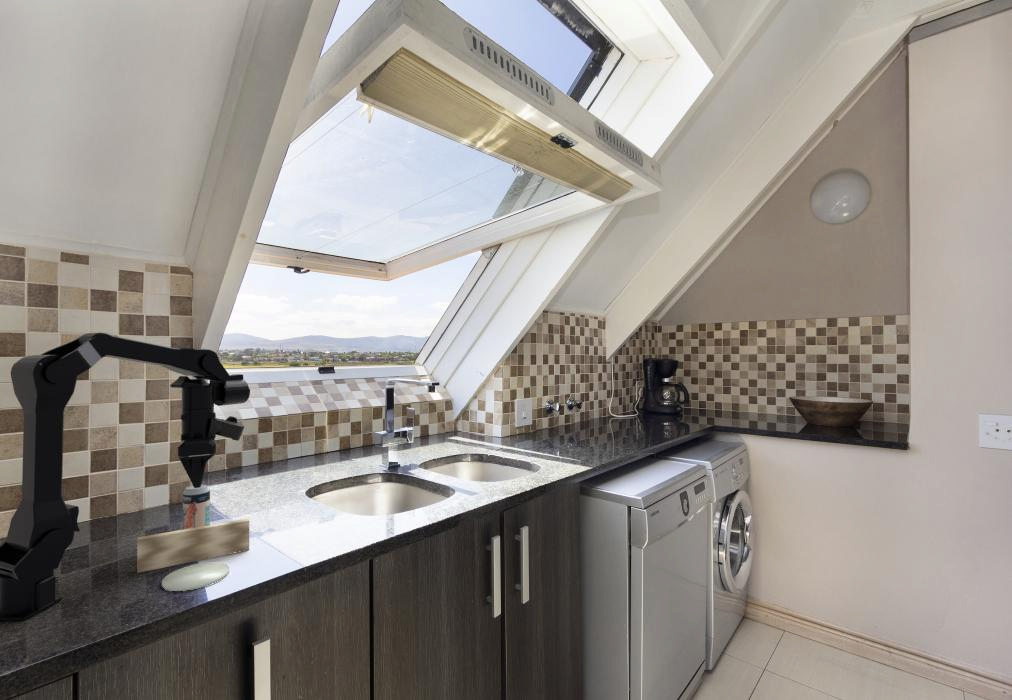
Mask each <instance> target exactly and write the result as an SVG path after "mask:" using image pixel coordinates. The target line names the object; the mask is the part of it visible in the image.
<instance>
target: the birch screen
mask: <svg viewBox="0 0 1012 700" xmlns="http://www.w3.org/2000/svg"><path fill="white" fill-rule="evenodd" d="M136 542H137V546H136V547H137V548H136V550H137V551H136V557H137V558H136V560H137V562H136V563H137V564H136V567H137V568H136V569H137V570H136V571H137V574H139V573H144V572H148V571H153V570H159V569H164V568H168V567H172V566H178V565H182V564H188V563H192V562H198V561H201V560H202V559H203V560H207V559H206V558H208V559H212V558H211V557H213V558H216V557H217V556H218V557H222V556H221V555H223V556H227V555H226V554H228V555H231V554H230V553H233V554H235V553H234V552H238V553H240V552H239V551H243V552H245V551H244V550H248V551H250V518H244V519H238V520H237V519H236V520H233V521H226V522H221V523H214V524H210V525H207V526H201V527H196V528H190V529H184V530H183V529H179V530H178V529H177V530H173V531H169V532H161V533H156V534H151V535H150V534H148V535H144V536H139V537H137V541H136ZM218 557H217V558H218ZM203 560H202V561H203Z"/></svg>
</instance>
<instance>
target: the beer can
mask: <svg viewBox="0 0 1012 700" xmlns="http://www.w3.org/2000/svg"><path fill="white" fill-rule="evenodd" d="M207 525H211V488H209V486H208V485H207V483H206V484H204V483H203V484H202V483H201V487H199V488H194V486H193V484H191V485H189V486H186V487H185V489H184V490H183V493H182V530H184V529H190V528H196V527H201V526H207Z"/></svg>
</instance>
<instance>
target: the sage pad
mask: <svg viewBox="0 0 1012 700" xmlns="http://www.w3.org/2000/svg"><path fill="white" fill-rule="evenodd" d="M229 573H230V566H229V565H228V564H227V563H224V562H221V561H207V562H200V563H195V564H191V565H187V566H185V567H181V568H179V569H176V570H174V571H172V572H170V573H169V574H167V575H166V576H165V577H163V578H162V581H161V588H162V587H163V588H164V589H165V591H167V590H168V591H167V592H172V591H183V592H188V591H187V590H191V591H195V590H194V589H196V590H199V589H198V588H200V589H202V588H201V587H203V588H205V587H204V586H206V587H208V586H207V585H209V586H211V585H210V584H212V583H214V584H216V583H218V582H220V581H222V580H223V579H225V578H226V577H227V576H228V575H229ZM227 574H228V575H227ZM226 575H227V576H226ZM225 576H226V577H225ZM224 577H225V578H224ZM222 578H223V579H222ZM221 579H222V580H221ZM219 580H220V581H219ZM217 581H218V582H217ZM215 582H216V583H215ZM212 585H213V584H212ZM163 588H162V589H163ZM164 589H163V590H164Z"/></svg>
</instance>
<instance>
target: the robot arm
mask: <svg viewBox="0 0 1012 700" xmlns="http://www.w3.org/2000/svg"><path fill="white" fill-rule="evenodd" d="M104 357H106V358H111V359H117V360H124V361H130V362H137V363H141V364H149V365H154V366H160V367H163V368H166V369H167V370H169V371H171V372H174V373H177V374H180V376H178V377H177V379H176V380H175V381H173V382H172V383H171V384H170V385H169V386H170V388H174V389H181V415H180V416H181V417H180V420H181V434H180V441H181V442H180V443H178V446H177V457H178V459H179V462H180V463H181V464H182V467H183V468H184V470H185V472H186V475H187V476H188V479H189V480H190V482H191V485H193V486H194V488H199V487H201V484H202V482H203V478H204V473H205V469H206V465H207V462H208V461H209V460H210V459H212V458H213V457H215V455H216V453H217V449H216V447H217V445H216V444H217V441H216V437H217V436H218V437H224V438H229V439H231V440H232V441H238V442H239V441H240V439H241V436H242V434H243V432H244V430H245V425H244V424H242V423H238V418H237V417H235V416H232V415H229V416H228V417H226V418H225V419H223V418H221V419H220V418H217V415H216V414H217V413H216V412H215V408H214V407H215V406H218V407H221V406H229V405H230V406H233V405H238V404H239V405H240V404H244V403H246V402H248V400H249V399H250V396H251V388H250V386H249V384H248V383H247V381H246V380H245V379H244V374H241V373H240V374H239V373H237V374H235V373H233V374H230V373H229V372H228V371H227V369H226V368H225V367H224V365H223V364H222V362H221V361H220V358H219V356H218V353H217V352H216V351H215V350H213V349H212V348H211V349H210V348H192V347H191V348H189V347H188V348H186V347H184V348H181V347H178V348H177V347H171V346H165V345H161V344H155V343H151V342H146V341H142V340H141V341H140V340H136V339H130V338H127V337H125V338H124V337H120V336H115V335H111V334H110V333H107V332H87V333H83V334H82V335H81V336H79V337H77V338H75V339H73V340H71V341H69V342H67V343H64V344H61V345H58V346H56V347H53V348H52V349H49V350H46V351H44V352H42V353H41V354H34V355H27V356H24V357H22V358H20V359H19V360H18V361H16V362H14V364H13V365H12V366H11V368H10V378H11V382H12V388H13V392H14V395H15V397H16V399H17V401H18V403H19V404H20V406H21V408H22V411H23V431H22V432H23V433H22V434H23V435H22V437H23V438H22V475H21V476H22V478H21V480H22V481H21V501H20V503H19V505H18V507H17V508H16V510H15V512H14V514H13V515H12V517H11V518H10V519H11V520H10V522H9V527H8V530H7V531H8V532H7V534H6V535H7V536H6V539H5V540H4V541H3V542H1V544H0V621H25V620H27V619H28V618H29V619H30V618H31V617H33V616H34V615H36V614H38V613H40V612H41V611H44V610H45V609H47V608H49V607H51V606H52V605H54V604H56V603H58V602H60V601H62V600H63V599H64V595H56V580H57V579H56V577H57V576H56V575H55V573H54V572H55V571H54V570H56V569H58V568H59V567H60V564H61V562H62V559H63V557H64V554H65V551H66V550H67V549H68V548H69V547H70V546H71V545H72V544H73V542H74V540H75V532H77V533H79V532H80V530H81V528H79V526H78V517H79V513H80V509H79V506H77V505H72V504H67V503H66V502H65V500H64V497H63V466H64V465H63V464H64V463H63V461H64V424H65V423H64V421H65V420H64V418H65V416H64V415H65V409H66V407H67V406H68V403H69V402H70V400H71V399H72V396H73V395H74V392H75V389H76V385H77V381H78V376H80V375H81V374H83V373H86V372H87V371H88V370H90V369H91V368H93V367H94V366H95V365H96V364H97V363H98V362H99V361H100V360H101V359H102V358H104ZM189 377H192V378H189ZM208 381H209V382H208Z"/></svg>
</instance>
